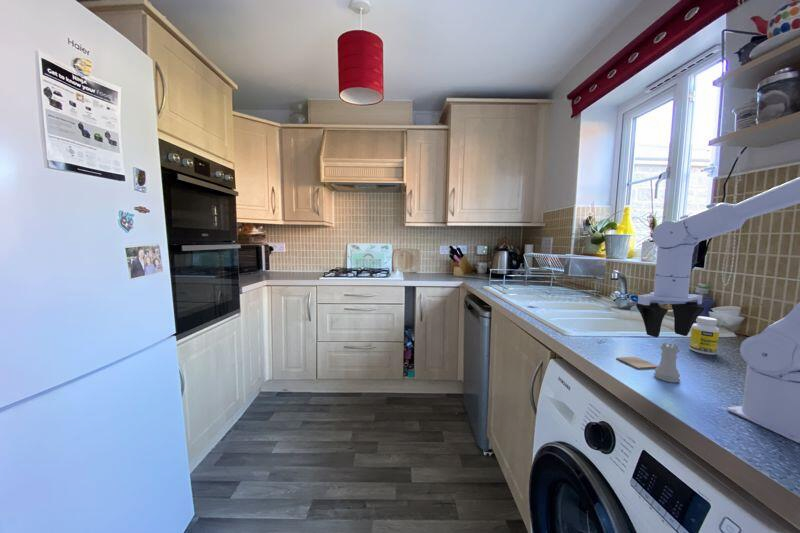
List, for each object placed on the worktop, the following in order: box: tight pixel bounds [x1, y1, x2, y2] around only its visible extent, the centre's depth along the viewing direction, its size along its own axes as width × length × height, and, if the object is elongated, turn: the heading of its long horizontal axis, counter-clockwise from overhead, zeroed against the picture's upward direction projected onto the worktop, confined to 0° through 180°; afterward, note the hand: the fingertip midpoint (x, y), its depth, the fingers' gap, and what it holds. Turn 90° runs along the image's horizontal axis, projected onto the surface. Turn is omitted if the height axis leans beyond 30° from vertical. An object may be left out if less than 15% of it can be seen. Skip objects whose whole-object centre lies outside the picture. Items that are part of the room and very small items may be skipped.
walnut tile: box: [615, 356, 658, 370], centre depth 74 cm, size 6×6×1 cm
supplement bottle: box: [688, 315, 720, 356], centre depth 82 cm, size 5×5×10 cm
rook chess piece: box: [653, 342, 681, 384], centre depth 66 cm, size 4×4×8 cm
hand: (666, 335), depth 66 cm, fingers open, 7 cm apart
